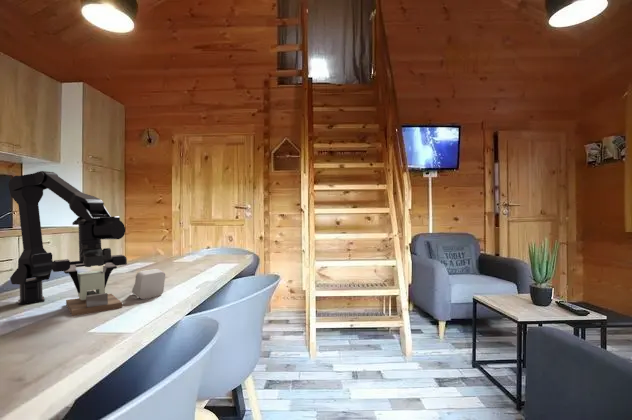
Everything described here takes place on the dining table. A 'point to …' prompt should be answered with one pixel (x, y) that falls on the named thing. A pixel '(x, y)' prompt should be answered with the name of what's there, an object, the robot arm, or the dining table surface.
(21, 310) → the dining table surface
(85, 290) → the block
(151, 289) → the grey rounded block piece
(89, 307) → the cleat board
